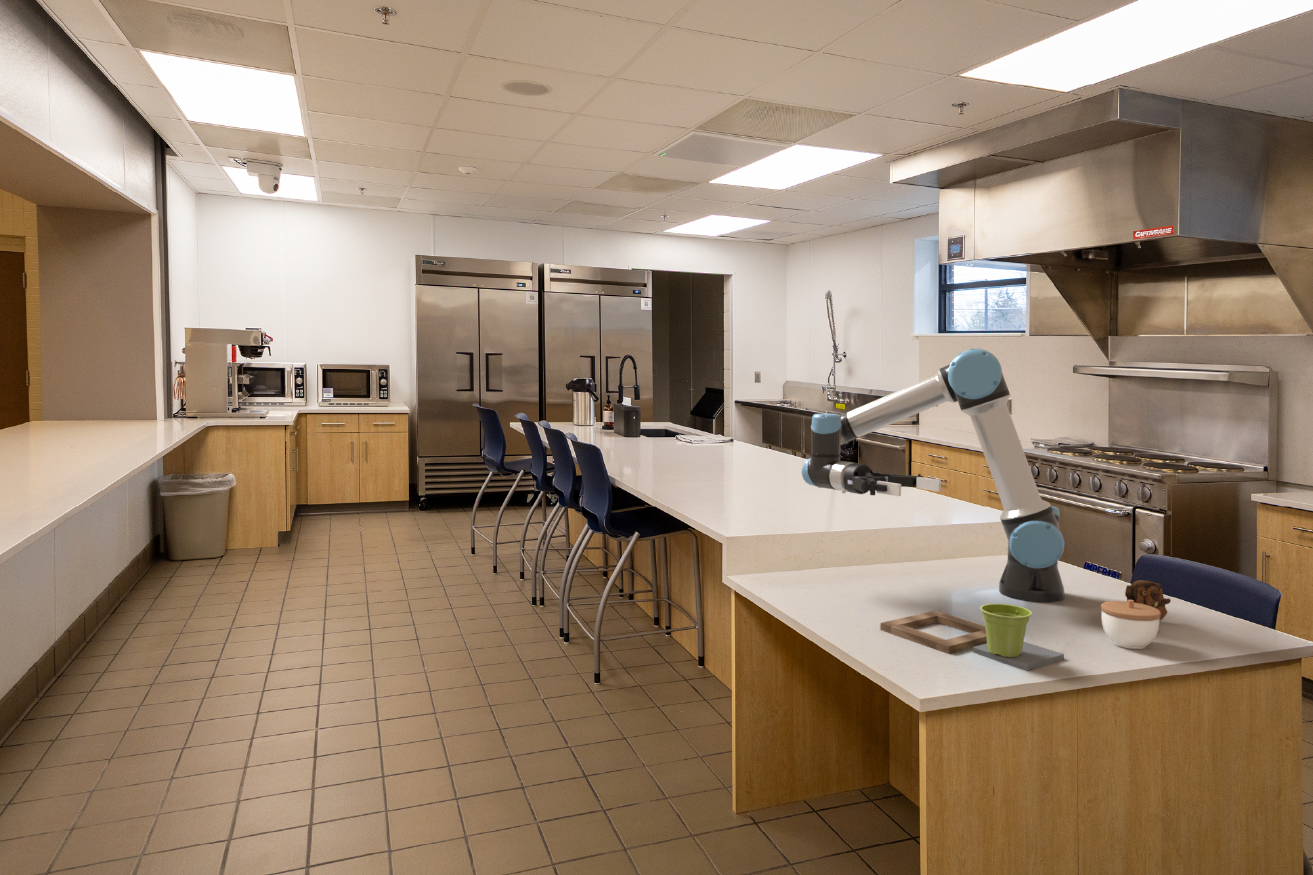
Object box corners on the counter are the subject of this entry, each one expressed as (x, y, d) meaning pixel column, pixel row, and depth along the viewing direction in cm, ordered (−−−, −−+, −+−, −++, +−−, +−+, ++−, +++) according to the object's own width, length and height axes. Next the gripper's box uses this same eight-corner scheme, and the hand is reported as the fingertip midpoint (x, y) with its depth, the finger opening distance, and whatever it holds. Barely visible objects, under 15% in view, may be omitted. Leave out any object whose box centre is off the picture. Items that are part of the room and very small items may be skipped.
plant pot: (970, 644, 166) (972, 603, 165) (1015, 644, 166) (1017, 602, 166) (991, 661, 157) (993, 617, 156) (1039, 660, 157) (1041, 616, 156)
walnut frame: (934, 616, 188) (934, 610, 188) (1004, 638, 173) (1004, 631, 173) (880, 629, 179) (880, 622, 179) (948, 653, 164) (948, 646, 164)
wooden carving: (1135, 634, 176) (1137, 589, 175) (1114, 628, 180) (1116, 584, 179) (1173, 622, 185) (1176, 579, 184) (1152, 617, 189) (1155, 574, 188)
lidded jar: (1170, 653, 164) (1172, 607, 164) (1116, 652, 165) (1119, 607, 164) (1139, 636, 175) (1141, 593, 174) (1089, 635, 175) (1091, 593, 174)
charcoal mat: (1009, 641, 171) (1009, 637, 171) (1063, 658, 161) (1064, 653, 161) (972, 652, 165) (973, 647, 165) (1027, 670, 155) (1027, 665, 154)
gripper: (886, 488, 212) (955, 499, 194) (815, 496, 198) (881, 508, 180) (887, 460, 211) (956, 468, 193) (815, 465, 198) (882, 475, 180)
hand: (920, 488), depth 187 cm, fingers open, 13 cm apart
